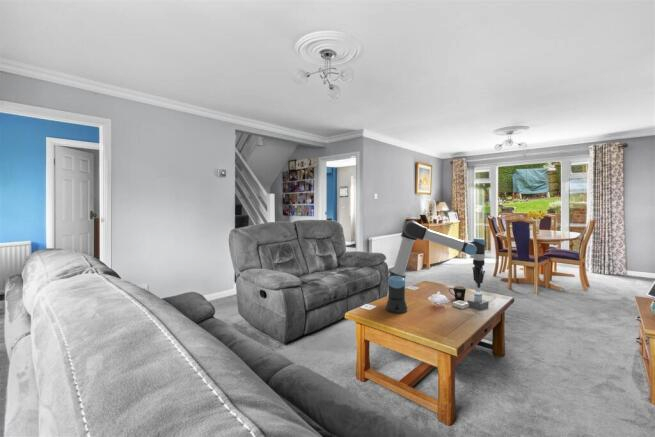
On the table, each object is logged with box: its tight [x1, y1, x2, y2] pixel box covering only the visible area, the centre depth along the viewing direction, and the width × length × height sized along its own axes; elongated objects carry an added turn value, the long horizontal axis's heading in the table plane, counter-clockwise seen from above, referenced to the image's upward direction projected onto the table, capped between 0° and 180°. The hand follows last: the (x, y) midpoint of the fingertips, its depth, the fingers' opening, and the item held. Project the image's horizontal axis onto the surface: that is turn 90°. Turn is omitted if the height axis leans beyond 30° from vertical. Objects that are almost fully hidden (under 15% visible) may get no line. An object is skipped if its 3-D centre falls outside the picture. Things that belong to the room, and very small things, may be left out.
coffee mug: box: [448, 285, 467, 301], centre depth 246 cm, size 12×9×10 cm
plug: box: [473, 292, 483, 302], centre depth 228 cm, size 4×4×10 cm
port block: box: [467, 297, 489, 310], centre depth 228 cm, size 10×10×5 cm
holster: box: [452, 300, 470, 310], centre depth 228 cm, size 8×8×4 cm
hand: (477, 291), depth 227 cm, fingers closed
